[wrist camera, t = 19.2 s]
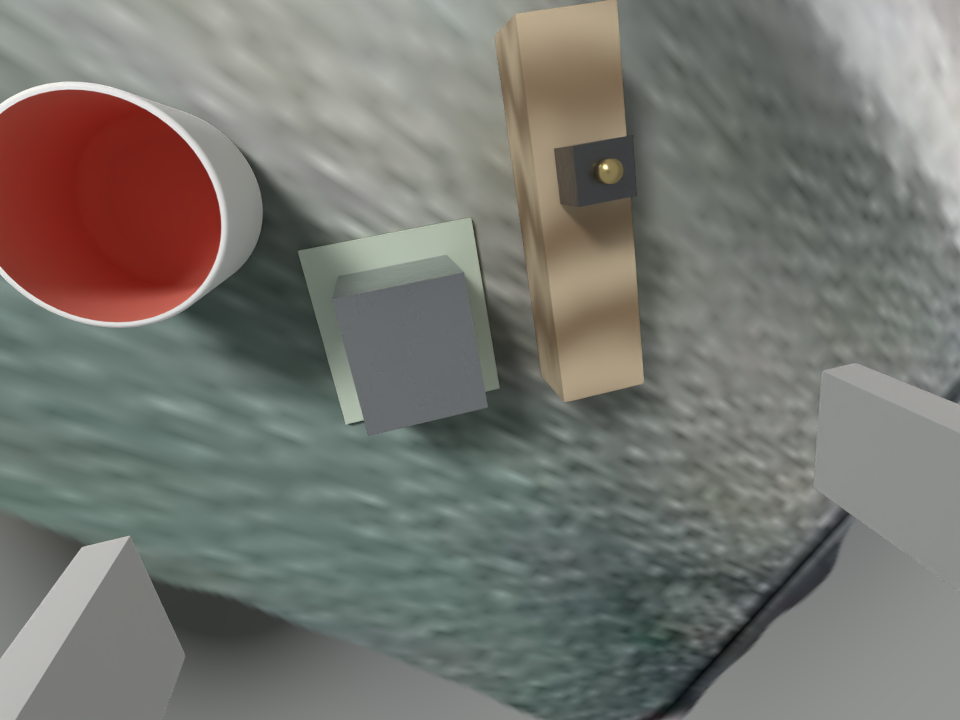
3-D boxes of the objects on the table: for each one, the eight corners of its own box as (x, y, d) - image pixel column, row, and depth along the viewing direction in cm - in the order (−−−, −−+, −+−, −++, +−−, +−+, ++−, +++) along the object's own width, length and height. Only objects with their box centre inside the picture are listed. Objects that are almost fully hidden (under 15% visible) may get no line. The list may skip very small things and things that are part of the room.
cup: (302, 206, 34) (278, 218, 25) (190, 319, 35) (126, 372, 26) (160, 67, 31) (70, 21, 21) (39, 197, 31) (-100, 207, 22)
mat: (298, 250, 35) (297, 251, 34) (470, 217, 36) (471, 218, 36) (345, 421, 39) (345, 424, 38) (498, 386, 40) (499, 388, 40)
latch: (554, 148, 31) (578, 145, 27) (608, 138, 31) (640, 134, 28) (560, 204, 32) (584, 208, 28) (613, 194, 32) (643, 196, 29)
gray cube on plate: (338, 276, 35) (331, 299, 29) (446, 254, 36) (464, 272, 30) (367, 391, 38) (367, 435, 32) (467, 368, 39) (487, 407, 32)
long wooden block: (494, 36, 33) (515, 13, 28) (582, 23, 34) (616, -2, 29) (541, 376, 41) (564, 402, 36) (612, 360, 41) (644, 383, 37)
